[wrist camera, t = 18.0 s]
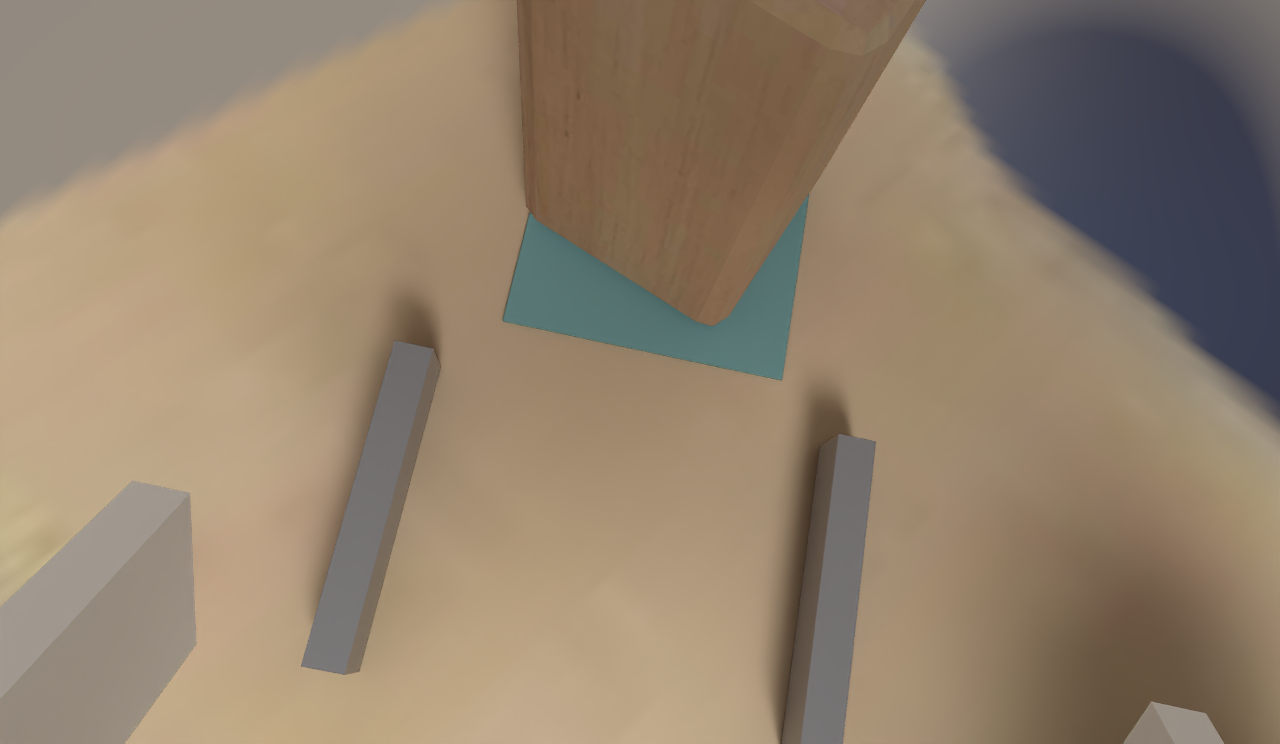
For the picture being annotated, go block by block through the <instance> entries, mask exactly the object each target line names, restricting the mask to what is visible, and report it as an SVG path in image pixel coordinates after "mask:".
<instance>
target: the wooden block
mask: <svg viewBox="0 0 1280 744" xmlns="http://www.w3.org/2000/svg"><path fill="white" fill-rule="evenodd" d="M925 1H926V0H517V12H518V34H519V57H520V80H521V102H522V125H523V148H524V171H525V193H526V207H527V208H528V209H529V211H530V212H531V214H532V215H533V216H534V218H535V219H536V220H537V221H538V222H540V223H542V224H543V225H545V226H546V227H548V228H549V229H551V230H553V231H554V232H556V233H557V234H559V235H560V236H562V237H564V238H565V239H567V240H568V241H570V242H571V243H573V244H575V245H576V246H578V247H579V248H581V249H582V250H584V251H586V252H587V253H589V254H590V255H592V256H593V257H595V258H597V259H598V260H600V261H601V262H603V263H604V264H606V265H608V266H609V267H611V268H612V269H614V270H616V271H617V272H619V273H620V274H622V275H623V276H625V277H627V278H628V279H630V280H631V281H633V282H634V283H636V284H638V285H639V286H641V287H642V288H644V289H645V290H647V291H649V292H650V293H652V294H653V295H655V296H656V297H658V298H660V299H661V300H663V301H664V302H666V303H667V304H669V305H671V306H672V307H674V308H675V309H677V310H679V311H680V312H682V313H683V314H685V315H686V316H688V317H690V318H691V319H693V320H694V321H696V322H699V323H702V324H706V325H709V326H714V325H716V324H717V323H719V322H720V321H722V320H724V319H725V318H727V317H728V316H729V315H730V314H731V312H732V311H733V309H734V307H735V306H736V304H737V303H738V301H739V300H740V298H741V297H742V295H743V294H744V292H745V291H746V289H747V288H748V286H749V284H750V283H751V281H752V280H753V278H754V277H755V275H756V274H757V272H758V271H759V269H760V268H761V266H762V264H763V263H764V261H765V260H766V258H767V257H768V255H769V254H770V252H771V251H772V249H773V248H774V246H775V245H776V243H777V241H778V240H779V238H780V237H781V235H782V234H783V232H784V231H785V229H786V228H787V226H788V225H789V223H790V222H791V220H792V218H793V217H794V215H795V214H796V212H797V211H798V209H799V208H800V206H801V205H802V203H803V202H804V200H805V198H806V197H807V195H808V194H809V192H810V191H811V189H812V188H813V186H814V185H815V183H816V182H817V180H818V179H819V177H820V175H821V174H822V172H823V170H824V169H825V167H826V165H827V164H828V162H829V160H830V159H831V157H832V155H833V154H834V152H835V150H836V149H837V147H838V145H839V144H840V142H841V140H842V139H843V137H844V135H845V134H846V132H847V130H848V129H849V127H850V126H851V124H852V122H853V121H854V119H855V117H856V116H857V114H858V112H859V111H860V109H861V107H862V106H863V104H864V102H865V101H866V99H867V97H868V96H869V94H870V92H871V91H872V89H873V87H874V86H875V84H876V82H877V81H878V79H879V77H880V76H881V74H882V72H883V71H884V69H885V67H886V66H887V64H888V62H889V61H890V59H891V57H892V56H893V54H894V52H895V51H896V49H897V47H898V46H899V44H900V42H901V41H902V39H903V37H904V36H905V34H906V32H907V31H908V29H909V27H910V26H911V24H912V22H913V21H914V19H915V17H916V15H917V14H918V12H919V11H920V9H921V7H922V6H923V4H924V2H925Z"/></svg>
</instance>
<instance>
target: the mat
mask: <svg viewBox="0 0 1280 744" xmlns="http://www.w3.org/2000/svg"><path fill="white" fill-rule="evenodd" d="M808 198H809V194H808V195H807V197H806V198H805V200H804V202H803V203H802V205H801V206H800V208H799V209H798V211H797V212H796V214H795V215H794V217H793V218H792V220H791V222H790V223H789V225H788V226H787V228H786V229H785V231H784V232H783V234H782V235H781V237H780V238H779V240H778V241H777V243H776V245H775V246H774V248H773V249H772V251H771V252H770V254H769V255H768V257H767V258H766V260H765V261H764V263H763V264H762V266H761V268H760V269H759V271H758V272H757V274H756V275H755V277H754V278H753V280H752V281H751V283H750V284H749V286H748V288H747V289H746V291H745V292H744V294H743V295H742V297H741V298H740V300H739V301H738V303H737V304H736V306H735V307H734V309H733V311H732V312H731V314H730V315H729V316H728V317H727V318H725V319H724V320H722V321H720V322H719V323H717V324H716V325H714V326H709V325H706V324H702V323H699V322H696V321H694V320H693V319H691V318H690V317H688V316H686V315H685V314H683V313H682V312H680V311H679V310H677V309H675V308H674V307H672V306H671V305H669V304H667V303H666V302H664V301H663V300H661V299H660V298H658V297H656V296H655V295H653V294H652V293H650V292H649V291H647V290H645V289H644V288H642V287H641V286H639V285H638V284H636V283H634V282H633V281H631V280H630V279H628V278H627V277H625V276H623V275H622V274H620V273H619V272H617V271H616V270H614V269H612V268H611V267H609V266H608V265H606V264H604V263H603V262H601V261H600V260H598V259H597V258H595V257H593V256H592V255H590V254H589V253H587V252H586V251H584V250H582V249H581V248H579V247H578V246H576V245H575V244H573V243H571V242H570V241H568V240H567V239H565V238H564V237H562V236H560V235H559V234H557V233H556V232H554V231H553V230H551V229H549V228H548V227H546V226H545V225H543V224H542V223H540V222H538V221H537V220H536V219H535V218H534V216H533V215H532V214H531V212H530V214H529V218H528V222H527V226H526V230H525V234H524V238H523V242H522V246H521V250H520V254H519V258H518V262H517V266H516V270H515V274H514V278H513V282H512V286H511V290H510V294H509V298H508V302H507V306H506V310H505V314H504V318H503V321H504V322H509V323H514V324H518V325H523V326H528V327H532V328H537V329H542V330H547V331H551V332H556V333H561V334H565V335H570V336H575V337H580V338H584V339H589V340H594V341H598V342H603V343H608V344H613V345H617V346H622V347H627V348H631V349H636V350H641V351H646V352H650V353H655V354H660V355H664V356H669V357H674V358H679V359H683V360H688V361H693V362H697V363H702V364H707V365H712V366H716V367H721V368H726V369H730V370H735V371H740V372H745V373H749V374H754V375H759V376H764V377H768V378H773V379H778V380H782V377H783V370H784V363H785V356H786V349H787V343H788V336H789V329H790V322H791V315H792V308H793V301H794V295H795V288H796V281H797V274H798V267H799V260H800V253H801V246H802V240H803V233H804V226H805V219H806V212H807V205H808Z"/></svg>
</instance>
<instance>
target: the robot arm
mask: <svg viewBox="0 0 1280 744" xmlns="http://www.w3.org/2000/svg"><path fill="white" fill-rule="evenodd" d="M195 645H196V623H195V599H194V575H193V551H192V527H191V503H190V493H187V492H182V491H178V490H173V489H169V488H164V487H159V486H155V485H150V484H146V483H141V482H136V481H132V482H131V483H130V484H129V485H128V486H127V487H126V488H124V489H123V490H122V491H121V492H120V493H119V494H118V495H117V496H116V497H115V498H114V499H113V500H112V501H111V502H110V503H109V504H108V505H107V506H106V507H105V508H104V509H103V510H102V511H100V512H99V513H98V514H97V515H96V516H95V517H94V518H93V519H92V520H91V521H90V522H89V523H88V524H87V525H86V526H85V527H84V528H83V529H82V530H81V531H80V532H79V533H78V534H76V535H75V536H74V537H73V538H72V539H71V540H70V541H69V542H68V543H67V544H66V545H65V546H64V547H63V548H62V549H61V550H60V551H59V552H58V553H57V554H56V555H55V556H53V557H52V558H51V559H50V560H49V561H48V562H47V563H46V564H45V565H44V566H43V567H42V568H41V569H40V570H39V571H38V572H37V573H36V574H35V575H34V576H33V577H32V578H31V579H29V580H28V581H27V582H26V583H25V584H24V585H23V586H22V587H21V588H20V589H19V590H18V591H17V592H16V593H15V594H14V595H13V596H12V597H11V598H10V599H9V600H8V601H7V602H5V603H4V604H3V605H2V606H1V607H0V744H125V742H126V741H127V740H128V738H129V737H130V735H131V734H132V733H133V731H134V730H135V729H136V727H137V726H138V724H139V723H140V722H141V720H142V719H143V717H144V716H145V715H146V713H147V712H148V710H149V709H150V708H151V706H152V705H153V704H154V702H155V701H156V699H157V698H158V697H159V695H160V694H161V692H162V691H163V690H164V688H165V687H166V686H167V684H168V683H169V681H170V680H171V679H172V677H173V676H174V674H175V673H176V672H177V670H178V669H179V668H180V666H181V665H182V663H183V662H184V661H185V659H186V658H187V656H188V655H189V654H190V652H191V651H192V650H193V648H194V647H195ZM1123 744H1224V742H1223V741H1222V739H1221V737H1220V736H1219V734H1218V732H1217V731H1216V729H1215V727H1214V726H1213V724H1212V722H1211V721H1210V719H1209V717H1208V716H1207V714H1206V713H1203V712H1198V711H1193V710H1189V709H1184V708H1179V707H1175V706H1170V705H1166V704H1161V703H1156V702H1152V701H1151V702H1150V704H1149V705H1148V707H1147V708H1146V710H1145V711H1144V713H1143V714H1142V716H1141V717H1140V719H1139V720H1138V722H1137V723H1136V725H1135V726H1134V728H1133V729H1132V731H1131V732H1130V733H1129V735H1128V736H1127V738H1126V739H1125V741H1124V742H1123Z"/></svg>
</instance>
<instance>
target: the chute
mask: <svg viewBox="0 0 1280 744" xmlns="http://www.w3.org/2000/svg"><path fill="white" fill-rule="evenodd" d="M440 368H441V367H440V364H439V362H438V359H437V357H436V354H435V351H434V349H433V348H428V347H424V346H419V345H414V344H409V343H404V342H400V341H395V340H394V344H393V347H392V351H391V354H390V358H389V361H388V365H387V368H386V372H385V375H384V379H383V382H382V386H381V389H380V393H379V396H378V400H377V403H376V407H375V410H374V414H373V417H372V420H371V424H370V427H369V431H368V434H367V438H366V441H365V445H364V448H363V452H362V455H361V459H360V462H359V466H358V469H357V473H356V476H355V480H354V483H353V487H352V490H351V494H350V497H349V501H348V504H347V507H346V511H345V514H344V518H343V521H342V525H341V528H340V532H339V535H338V539H337V542H336V546H335V549H334V553H333V556H332V560H331V563H330V567H329V570H328V574H327V577H326V581H325V584H324V587H323V591H322V594H321V598H320V601H319V605H318V608H317V612H316V615H315V619H314V622H313V626H312V629H311V633H310V636H309V640H308V643H307V647H306V650H305V654H304V657H303V661H302V664H301V667H307V668H312V669H317V670H322V671H327V672H333V673H338V674H343V675H346V674H351V673H356V672H359V670H360V666H361V663H362V659H363V655H364V652H365V648H366V644H367V640H368V637H369V633H370V629H371V625H372V622H373V618H374V614H375V611H376V607H377V603H378V599H379V596H380V592H381V588H382V584H383V581H384V577H385V573H386V570H387V566H388V562H389V558H390V555H391V551H392V547H393V543H394V540H395V536H396V532H397V529H398V525H399V521H400V517H401V514H402V510H403V506H404V502H405V499H406V495H407V491H408V488H409V484H410V480H411V476H412V473H413V469H414V465H415V461H416V458H417V454H418V450H419V446H420V443H421V439H422V435H423V432H424V428H425V424H426V420H427V417H428V413H429V409H430V405H431V402H432V398H433V394H434V391H435V387H436V383H437V379H438V376H439V372H440ZM875 446H876V441H871V440H867V439H862V438H857V437H852V436H847V435H843V434H838V435H836V436H835V437H833V438H832V439H830V440H829V441H827V442H826V443H824V444H823V445H821V446H820V449H819V457H818V465H817V472H816V480H815V488H814V496H813V503H812V511H811V519H810V527H809V534H808V542H807V550H806V557H805V565H804V573H803V581H802V588H801V596H800V604H799V612H798V619H797V627H796V635H795V643H794V650H793V658H792V666H791V674H790V681H789V689H788V697H787V704H786V712H785V720H784V728H783V735H782V743H781V744H843V737H844V727H845V718H846V709H847V700H848V691H849V682H850V673H851V664H852V655H853V646H854V637H855V627H856V618H857V609H858V600H859V591H860V582H861V573H862V564H863V555H864V546H865V537H866V527H867V518H868V509H869V500H870V491H871V482H872V473H873V464H874V455H875Z"/></svg>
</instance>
